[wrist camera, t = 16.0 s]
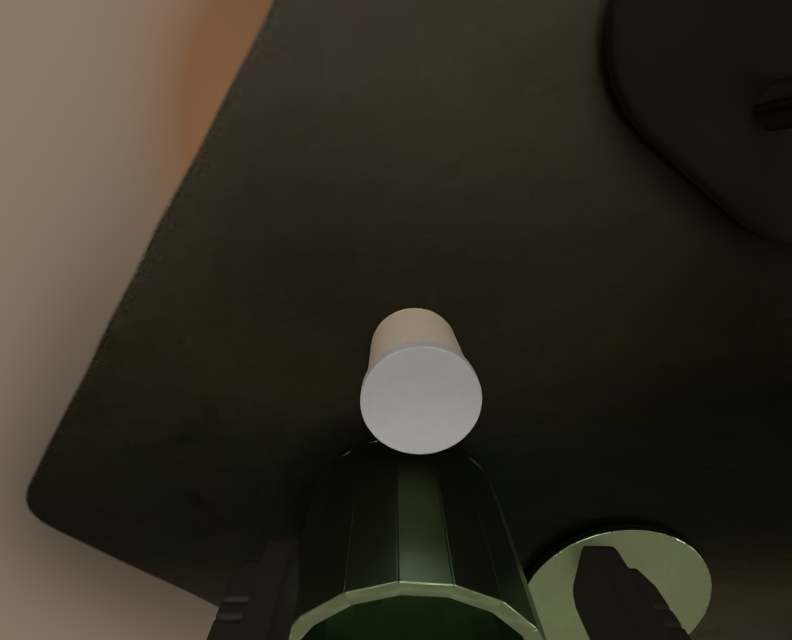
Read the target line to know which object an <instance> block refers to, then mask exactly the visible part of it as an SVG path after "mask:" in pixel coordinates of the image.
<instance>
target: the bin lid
mask: <svg viewBox="0 0 792 640" xmlns="http://www.w3.org/2000/svg"><path fill="white" fill-rule="evenodd" d="M584 546H612V547H614V548H615V549H616V550H617V551H618V552H619V554H620V555H621V557H622V559H623V560H624V562H625V563H626V565H627V566H628V568H636V569H638V570H639V571H640V572H641V573H642V574H643V575H644V576H645V577H646V578H647V579H648V580H649V581H651V582H652V583H653V584H654V585H655V586H656V588H657V589H658V590H659V592H660V593H661V595H662V596H663V598H664V599H665V601H666V602H667V604H668V605H669V609H670V611H673V613H674V614H675V616H676V617H677V619H678V620H679V622H680V623H681V627H682V628H684V629H685V631H686V632H687V634H688V635H689V634H690V633H691V632H692V631H693V630H694V628H695V627H696V626H697V625H698V624H699V622H700V621H701V619H702V617H703V616H704V614H705V612H706V610H707V608H708V605H709V602H710V598H711V591H712V584H711V577H710V573H709V570H708V568H707V566H706V563H705V562H704V560H703V559H702V558H701V556H700V555H699V554H698V552H697V551H696V550H695V549H694V548H693V547H692V546H691V545H690V544H689V543H688V542H687V541H685V540H684V539H682V538H681V537H679V536H678V535H676V534H674V533H671V532H669V531H667V530H664V529H661V528H658V527H653V526H648V525H640V524H617V525H609V526H604V527H599V528H595V529H591V530H588V531H585V532H582V533H580V534H577V535H575V536H573V537H571V538H568V539H567V540H565V541H563V542H562V543H560V544H558V545H557V546H555V547H554V548H552V549H551V550H550V551H548V552H547V553H546V554H545V555H544V556H543V557H542V558H540V559H539V560H538V561H537V563H536V564H535V565H534V566H533V567H532V569H531V570H530V572H529V573H528V575H527V576H526V581H527V584H528V587H529V590H530V593H531V596H532V599H533V601H534V604H535V607H536V610H537V613H538V616H539V619H540V622H541V625H542V628H543V631H544V634H545V637H546V639H547V640H590V639H589V637H588V634H587V632H586V630H585V628H584V626H583V623H582V621H581V619H580V617H579V614H578V612H577V609H576V606H575V602H574V597H573V584H574V580H575V576H576V572H577V567H578V563H579V559H580V555H581V551H582V548H583V547H584Z"/></svg>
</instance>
